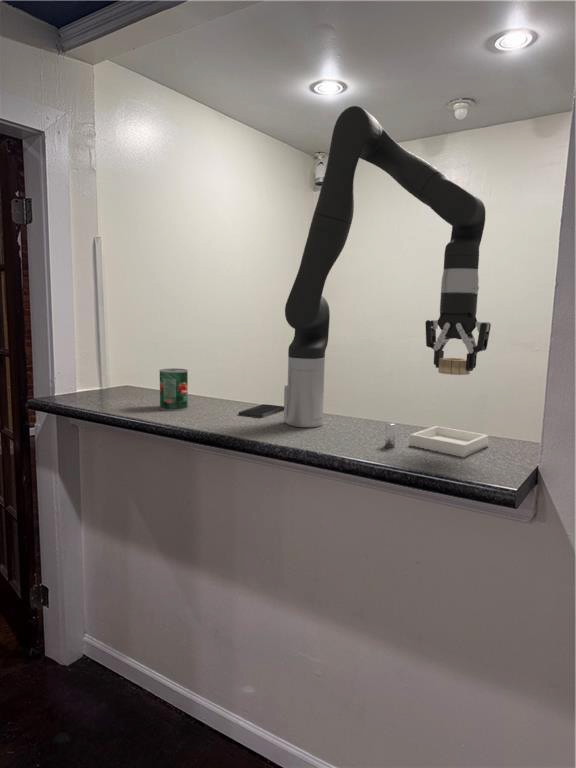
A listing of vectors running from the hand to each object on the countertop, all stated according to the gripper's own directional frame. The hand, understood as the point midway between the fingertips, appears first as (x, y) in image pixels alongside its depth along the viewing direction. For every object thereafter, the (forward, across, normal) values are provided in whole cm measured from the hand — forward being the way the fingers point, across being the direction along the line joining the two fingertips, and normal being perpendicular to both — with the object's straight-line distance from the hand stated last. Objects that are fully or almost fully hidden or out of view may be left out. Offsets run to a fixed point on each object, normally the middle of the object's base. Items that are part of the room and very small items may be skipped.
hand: (454, 368), depth 117 cm
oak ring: (+1, 0, 0) cm, 1 cm away
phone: (+18, -54, -4) cm, 57 cm away
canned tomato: (+17, -75, -19) cm, 79 cm away
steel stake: (+17, -9, -10) cm, 22 cm away
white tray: (+17, 0, 0) cm, 17 cm away
